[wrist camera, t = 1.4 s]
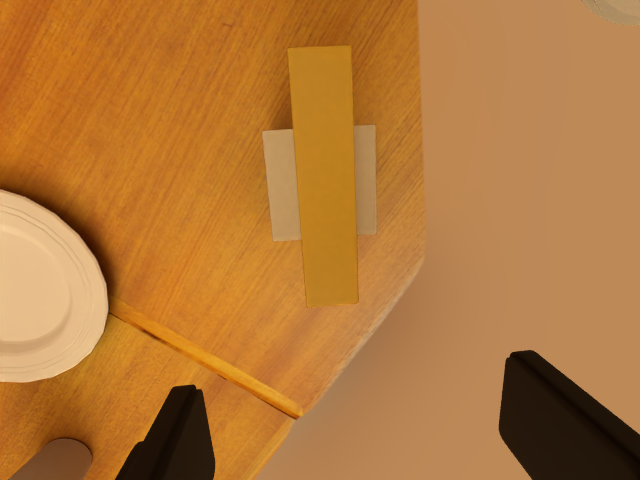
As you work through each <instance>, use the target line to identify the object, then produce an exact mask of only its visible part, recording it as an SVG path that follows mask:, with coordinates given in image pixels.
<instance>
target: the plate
mask: <svg viewBox="0 0 640 480" xmlns="http://www.w3.org/2000/svg"><path fill="white" fill-rule="evenodd" d="M108 312H109V300H108V289H107V283H106V280H105V277H104V275H103V272H102V270H101V267H100V264H99V262H98V259H97V258H96V256H95V255H94V253H93V252H92V251H91V249H90V248H89V246H88V245H87V244H86V242H85V241H84V239H83V238H82V237H81V235H80V234H79V233H78V232H76V231H75V230H74V229H73V228H72V227H71V226H70V225H69V224H67V223H66V222H65V221H64V220H63V219H62V218H61V217H60V216H58V215H57V214H56V213H54V212H53V211H51V210H49V209H47V208H46V207H44V206H42V205H40V204H38V203H37V202H35V201H33V200H31V199H30V198H28V197H25V196H22V195H19V194H16V193H12V192H9V191H6V190H3V189H0V382H31V381H36V380H41V379H46V378H51V377H54V376H56V375H58V374H60V373H62V372H64V371H67V370H69V369H71V368H73V367H75V366H76V365H77V364H78V363H79V362H80V361H81V360H83V359H84V358H85V357H86V356H87V355H88V354H90V353H91V352H92V351H93V349H94V347H95V346H96V344H97V342H98V341H99V339H100V337H101V336H102V334H103V332H104V330H105V326H106V321H107V317H108Z"/></svg>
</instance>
